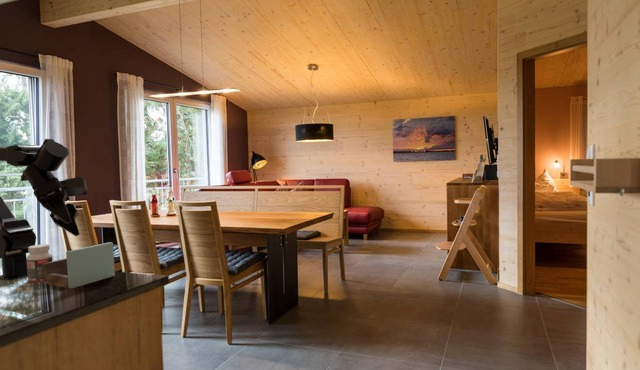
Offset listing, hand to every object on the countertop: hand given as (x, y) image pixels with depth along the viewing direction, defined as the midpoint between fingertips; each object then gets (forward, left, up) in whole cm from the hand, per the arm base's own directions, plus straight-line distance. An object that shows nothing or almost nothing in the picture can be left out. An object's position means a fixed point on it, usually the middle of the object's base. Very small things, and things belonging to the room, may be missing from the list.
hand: (73, 229), depth 110 cm
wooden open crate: (-1, +1, -14) cm, 15 cm away
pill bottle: (-11, -3, -15) cm, 19 cm away
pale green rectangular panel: (+4, +1, -14) cm, 14 cm away
